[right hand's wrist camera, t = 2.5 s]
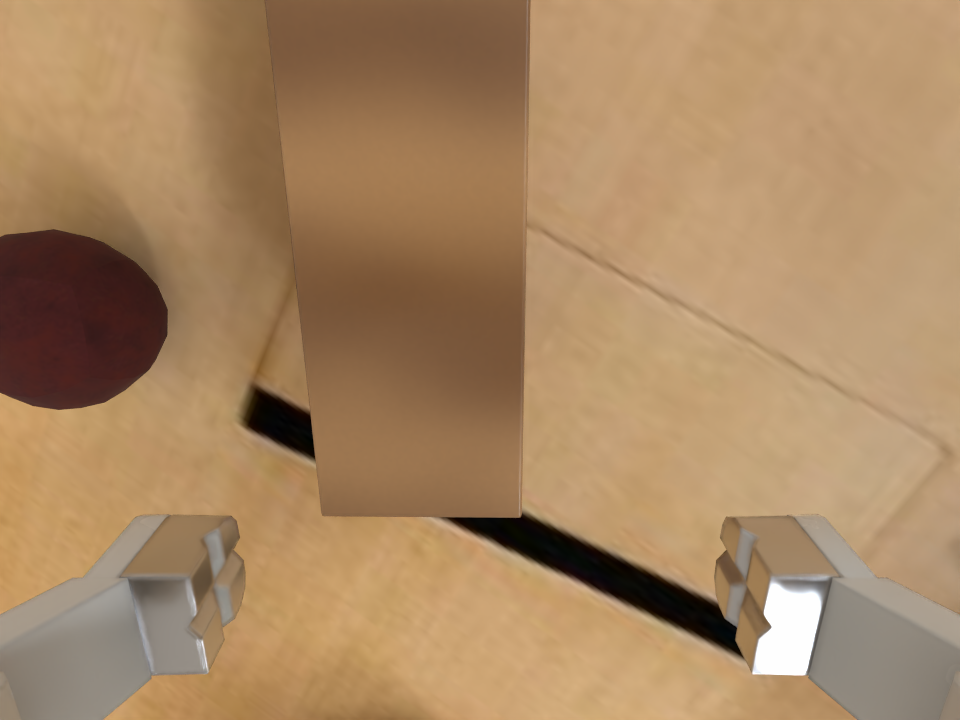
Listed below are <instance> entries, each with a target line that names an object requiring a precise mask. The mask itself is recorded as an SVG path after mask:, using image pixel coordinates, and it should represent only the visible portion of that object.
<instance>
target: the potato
mask: <svg viewBox="0 0 960 720" xmlns="http://www.w3.org/2000/svg"><path fill="white" fill-rule="evenodd" d="M167 311H168V310H167V307H166V304H165V302H164V300H163V298H162V295H161V293H160V291H159V288H158V286H157V285H156V284H155V283H154V282H153V280H152V279H151V278H150V277H149V276H148V275H147V274H146V273H145V272H144V270H143V269H142V268H141V267H140V266H139V265H137V264H136V263H135V262H134V261H133V260H131V259H129V258H128V257H126V256H125V255H123V254H121V253H120V252H118V251H116V250H115V249H113V248H111V247H110V246H108V245H107V244H105V243H103V242H101V241H98V240H95V239H93V238H90V237H85V236H81V235H76V234H72V233H67V232H63V231H59V230H46V231H38V232H30V233H20V234H8V235H4V236H2V237H0V393H2V394H5V395H7V396H9V397H12V398H14V399H17V400H19V401H22V402H24V403H27V404H29V405H32V406H37V407H44V408H50V409H57V410H62V409H73V408H83V407H87V406H91V405H95V404H100V403H104V402H106V401H108V400H109V399H111V398H113V397H114V396H116V395H118V394H119V393H121V392H123V391H124V390H126V389H127V388H128V387H129V386H131V385H132V384H133V383H134V382H135V381H136V380H138V379H139V378H140V377H141V376H142V375H143V374H145V373H146V372H147V371H148V370H149V369H150V368H151V366H152V365H153V363H154V362H155V360H156V358H157V356H158V354H159V352H160V350H161V347H162V345H163V343H164V341H165V339H166V337H167Z"/></svg>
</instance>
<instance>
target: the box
mask: <svg viewBox="0 0 960 720" xmlns="http://www.w3.org/2000/svg"><path fill="white" fill-rule="evenodd" d="M265 7H266V16H267V25H268V34H269V43H270V52H271V61H272V70H273V79H274V88H275V97H276V106H277V115H278V124H279V133H280V142H281V151H282V160H283V169H284V178H285V187H286V196H287V205H288V214H289V223H290V232H291V241H292V251H293V260H294V269H295V278H296V287H297V296H298V305H299V314H300V323H301V332H302V341H303V350H304V359H305V368H306V377H307V386H308V395H309V404H310V413H311V422H312V431H313V440H314V449H315V458H316V467H317V476H318V485H319V494H320V504H321V513H322V515H323V516H375V517H516V518H519V517H521V515H522V461H523V403H524V345H525V286H526V228H527V170H528V112H529V54H530V0H265Z"/></svg>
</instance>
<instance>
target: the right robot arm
mask: <svg viewBox="0 0 960 720" xmlns="http://www.w3.org/2000/svg"><path fill="white" fill-rule="evenodd" d="M239 538H240V536H239V531H238V526H237V521H236V520H235V519H234V518H233V517H232V516H213V515H141V516H138V517H135V518H134V519H133V521H132V522H131V523H130V524H129V525H128V526H127V527H126V529H125V530H124V531H123V532H122V533H121V534H120V535H119V537H118V538H117V539H116V540H115V541H114V542H113V543H112V545H111V546H110V547H109V548H108V549H107V550H106V551H105V553H104V554H103V555H102V556H101V557H100V558H99V560H98V561H97V562H96V563H95V564H94V565H93V566H92V568H91V569H90V570H89V571H88V572H87V573H86V574H85V576H84V577H83V578H71V579H69V580H68V581H66V582H64V583H62V584H60V585H58V586H56V587H54V588H52V589H50V590H48V591H46V592H44V593H42V594H40V595H38V596H36V597H34V598H32V599H30V600H28V601H26V602H24V603H22V604H20V605H18V606H16V607H14V608H12V609H10V610H8V611H6V612H4V613H2V614H0V720H103V719H104V718H105V717H106V716H108V715H109V714H110V713H111V712H112V711H114V710H115V709H116V708H117V707H118V706H120V705H121V704H122V703H123V702H124V701H125V700H127V699H128V698H129V697H130V696H131V695H133V694H134V693H135V692H136V691H137V690H138V689H140V688H141V687H142V686H143V685H144V684H146V683H147V682H148V681H149V680H150V679H151V675H183V674H208V672H209V670H210V668H211V666H212V664H213V662H214V660H215V658H216V656H217V654H218V652H219V650H220V648H221V646H222V644H223V642H224V634H223V627H224V626H225V625H227V624H228V623H230V622H231V621H232V620H234V619H235V617H236V615H237V613H238V611H239V609H240V607H241V604H242V599H243V595H244V590H245V567H244V560H243V559H242V558H241V557H240V556H239V555H238V554H237V553H236V552H235V551H234V550H233V549H234V547H235V546H236V544H237V542H238V540H239ZM720 538H721V540H722V542H723V544H724V546H725V547H726V549H727V550H726V551H725V552H724V553H723V554H722V555H721V556H720V557H719V558H718V559H717V560H716V568H715V576H714V579H715V590H716V596H717V600H718V603H719V607H720V609H721V611H722V613H723V615H724V618H725V619H726V620H728V621H729V622H730V623H732V624H733V625H735V626H736V627H737V634H736V642H737V644H738V646H739V648H740V650H741V652H742V654H743V656H744V658H745V660H746V662H747V664H748V666H749V668H750V670H751V672H752V674H776V675H809V677H808V678H809V679H810V680H811V681H812V682H814V683H815V684H816V685H817V686H818V687H819V688H821V689H822V690H823V691H824V692H825V693H827V694H828V695H829V696H830V697H831V698H832V699H834V700H835V701H836V702H837V703H838V704H840V705H841V706H842V707H843V708H844V709H845V710H847V711H848V712H849V713H850V714H851V715H853V716H854V717H855V718H856V719H857V720H960V615H959V614H957V613H955V612H954V611H952V610H950V609H948V608H946V607H944V606H942V605H940V604H938V603H936V602H934V601H932V600H930V599H928V598H926V597H924V596H922V595H920V594H918V593H916V592H914V591H912V590H910V589H908V588H906V587H904V586H902V585H900V584H898V583H896V582H894V581H892V580H890V579H889V578H877V577H876V576H875V574H874V573H873V572H872V571H871V570H870V569H869V568H868V566H867V565H866V564H865V563H864V562H863V561H862V560H861V558H860V557H859V556H858V555H857V554H856V553H855V552H854V550H853V549H852V548H851V547H850V546H849V545H848V544H847V542H846V541H845V540H844V539H843V538H842V537H841V535H840V534H839V533H838V532H837V531H836V530H835V529H834V527H833V526H832V525H831V524H830V523H829V522H828V521H827V519H826V518H824V517H823V516H820V515H818V514H806V515H787V516H739V517H726V518H725V520H724V522H723V524H722V530H721V535H720Z"/></svg>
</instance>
